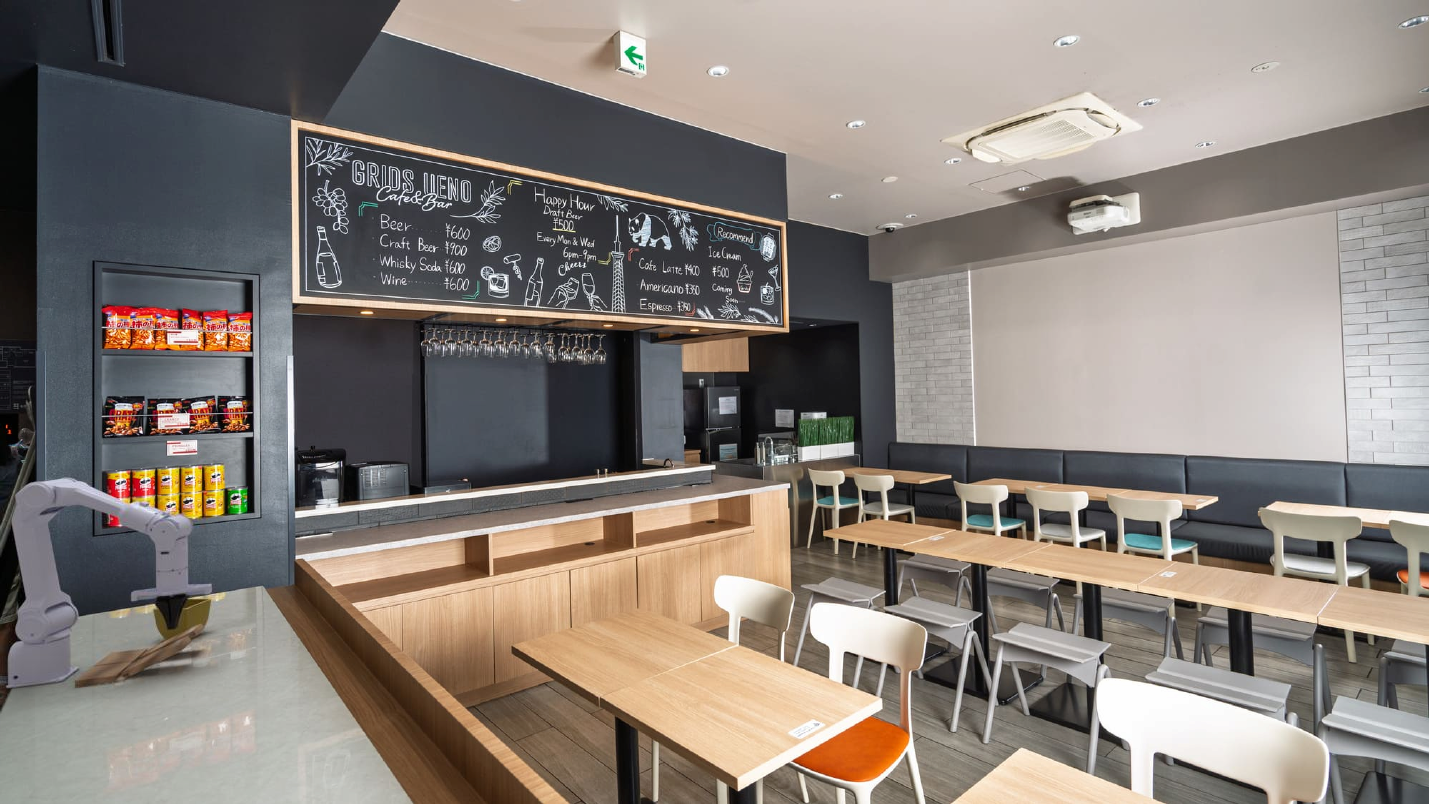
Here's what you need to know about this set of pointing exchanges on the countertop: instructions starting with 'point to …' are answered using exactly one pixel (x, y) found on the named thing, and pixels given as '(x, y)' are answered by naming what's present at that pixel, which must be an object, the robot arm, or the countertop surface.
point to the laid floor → (110, 668)
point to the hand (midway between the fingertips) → (172, 628)
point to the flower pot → (185, 617)
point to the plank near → (157, 657)
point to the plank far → (174, 640)
